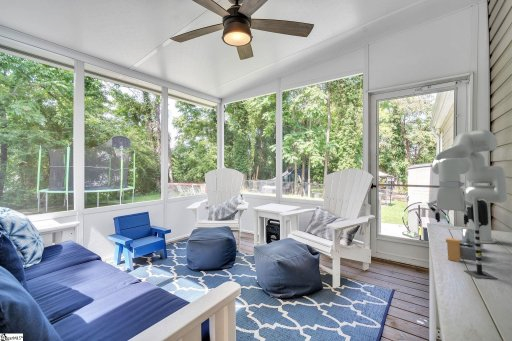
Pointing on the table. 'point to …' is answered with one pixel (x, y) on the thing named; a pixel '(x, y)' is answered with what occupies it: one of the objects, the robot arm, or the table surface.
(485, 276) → the miniature traffic light
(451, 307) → the table surface
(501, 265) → the table surface
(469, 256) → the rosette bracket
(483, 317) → the table surface
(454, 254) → the tan flared block
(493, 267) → the table surface
